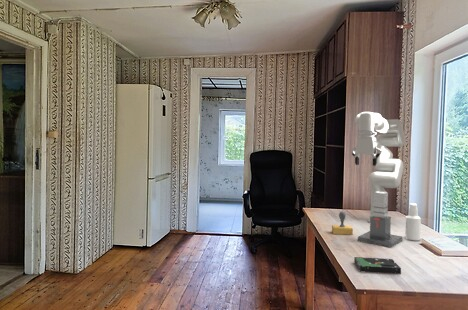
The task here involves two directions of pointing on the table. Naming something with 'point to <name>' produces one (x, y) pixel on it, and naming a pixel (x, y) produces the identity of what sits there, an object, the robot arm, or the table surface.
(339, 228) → the rubber stamp
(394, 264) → the disk drive
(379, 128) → the robot arm
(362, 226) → the table surface
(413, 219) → the spray bottle
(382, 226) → the jack stand base
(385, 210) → the block
